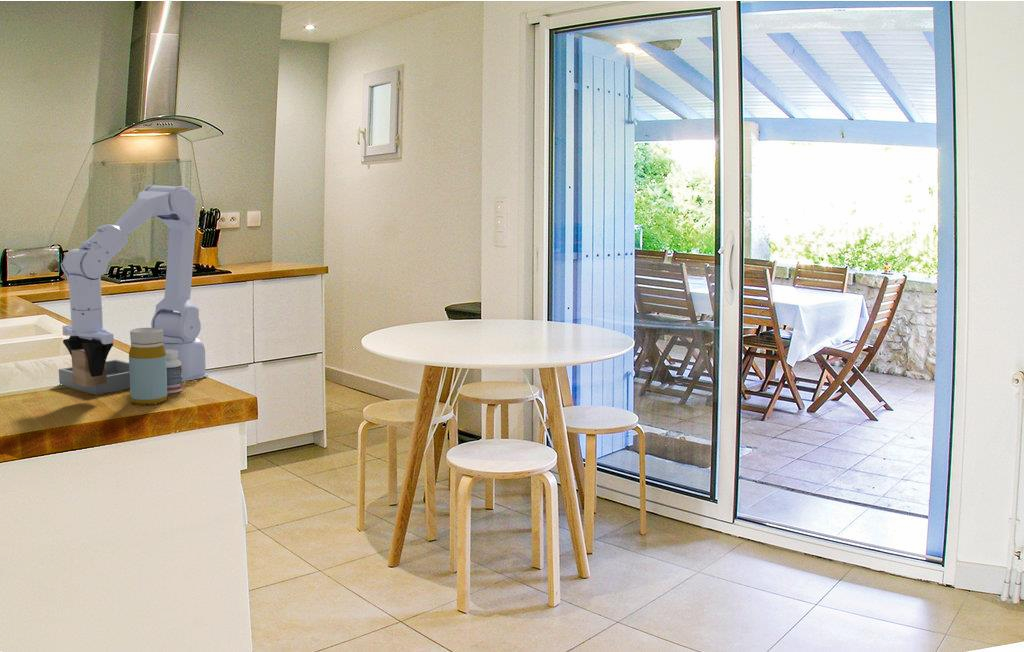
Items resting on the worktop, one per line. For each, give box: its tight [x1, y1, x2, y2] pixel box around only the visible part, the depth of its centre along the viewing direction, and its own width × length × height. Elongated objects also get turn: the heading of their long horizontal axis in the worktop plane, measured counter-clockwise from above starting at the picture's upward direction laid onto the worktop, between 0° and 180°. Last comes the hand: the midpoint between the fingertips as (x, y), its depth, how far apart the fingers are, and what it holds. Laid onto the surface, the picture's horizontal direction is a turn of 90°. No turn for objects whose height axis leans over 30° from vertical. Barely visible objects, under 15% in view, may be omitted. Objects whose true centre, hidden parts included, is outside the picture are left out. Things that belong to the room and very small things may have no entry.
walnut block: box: [71, 348, 107, 387], centre depth 171 cm, size 4×4×7 cm
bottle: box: [128, 327, 168, 406], centre depth 172 cm, size 7×7×15 cm
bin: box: [58, 359, 130, 396], centre depth 185 cm, size 14×14×4 cm
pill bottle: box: [165, 349, 183, 394], centre depth 181 cm, size 5×5×9 cm
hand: (89, 373), depth 171 cm, fingers closed on walnut block, 4 cm apart
